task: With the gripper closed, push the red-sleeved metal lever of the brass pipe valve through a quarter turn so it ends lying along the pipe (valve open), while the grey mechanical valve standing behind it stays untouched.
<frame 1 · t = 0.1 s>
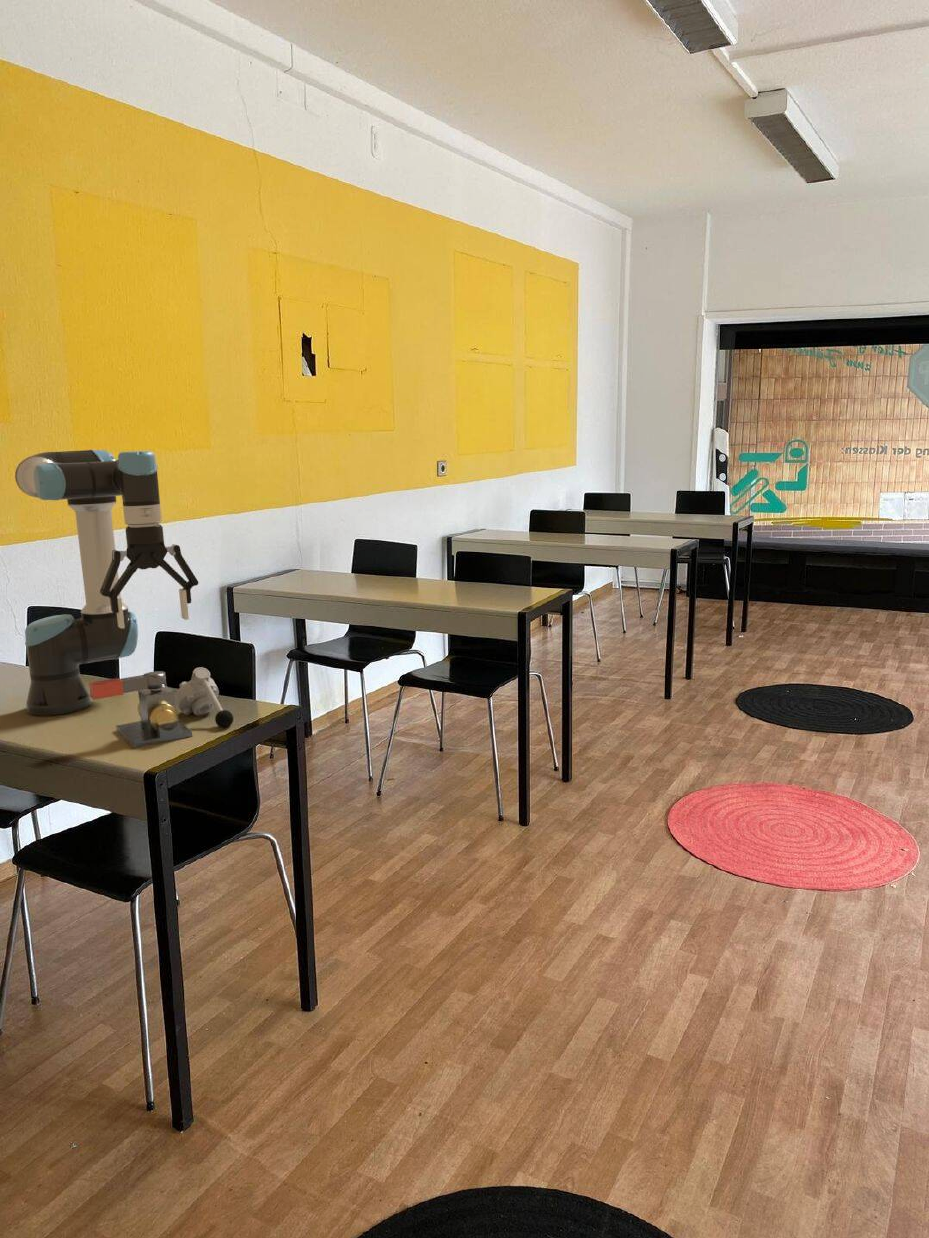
hand: (153, 623, 203), 28 cm above the table, fingers open, 13 cm apart
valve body: (160, 732, 218), on the table
lever: (129, 684, 213), point 12 cm above the table, hinge at 0.0°
mechanical valve: (210, 719, 228), on the table
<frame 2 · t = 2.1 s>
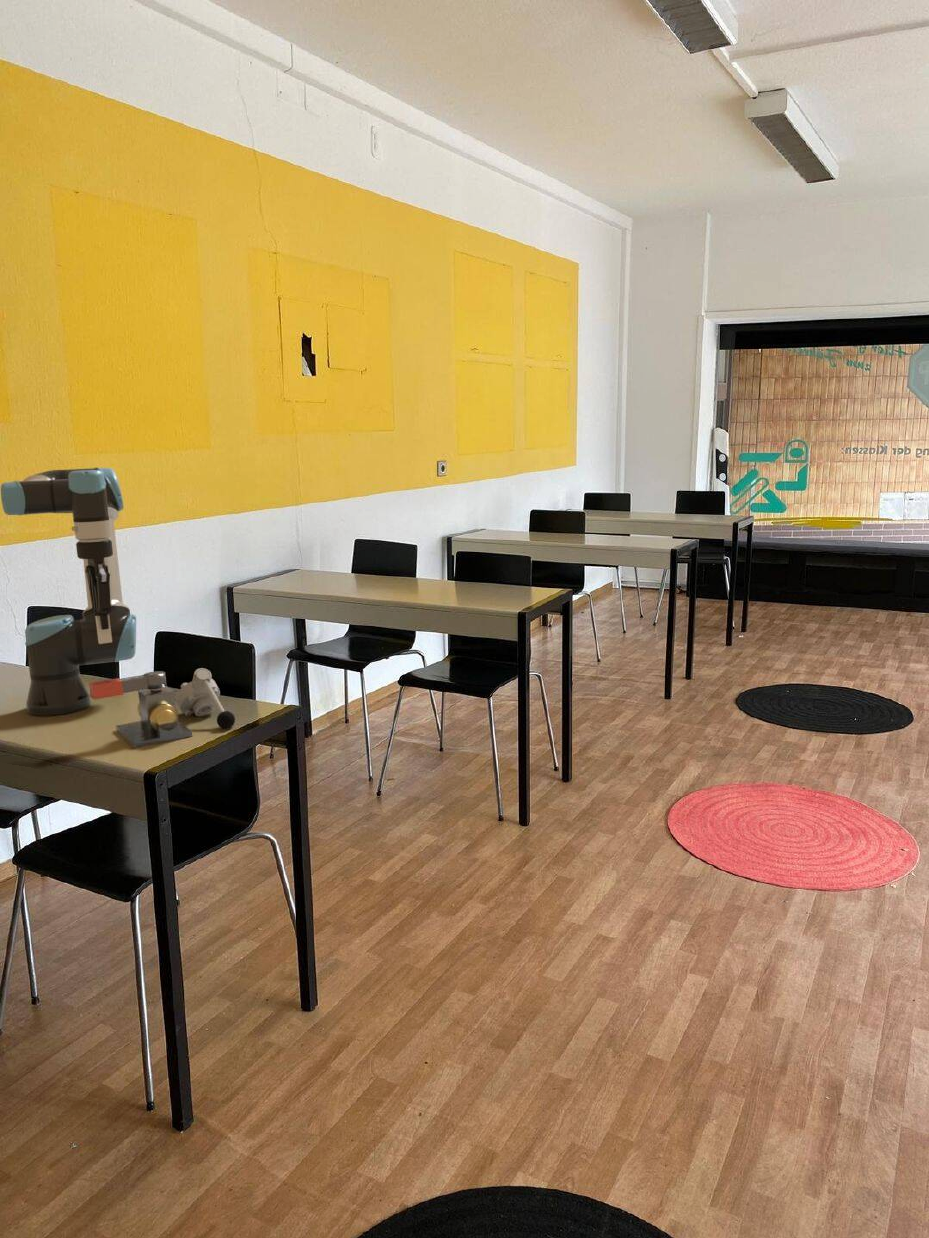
hand: (105, 642, 215), 22 cm above the table, fingers closed
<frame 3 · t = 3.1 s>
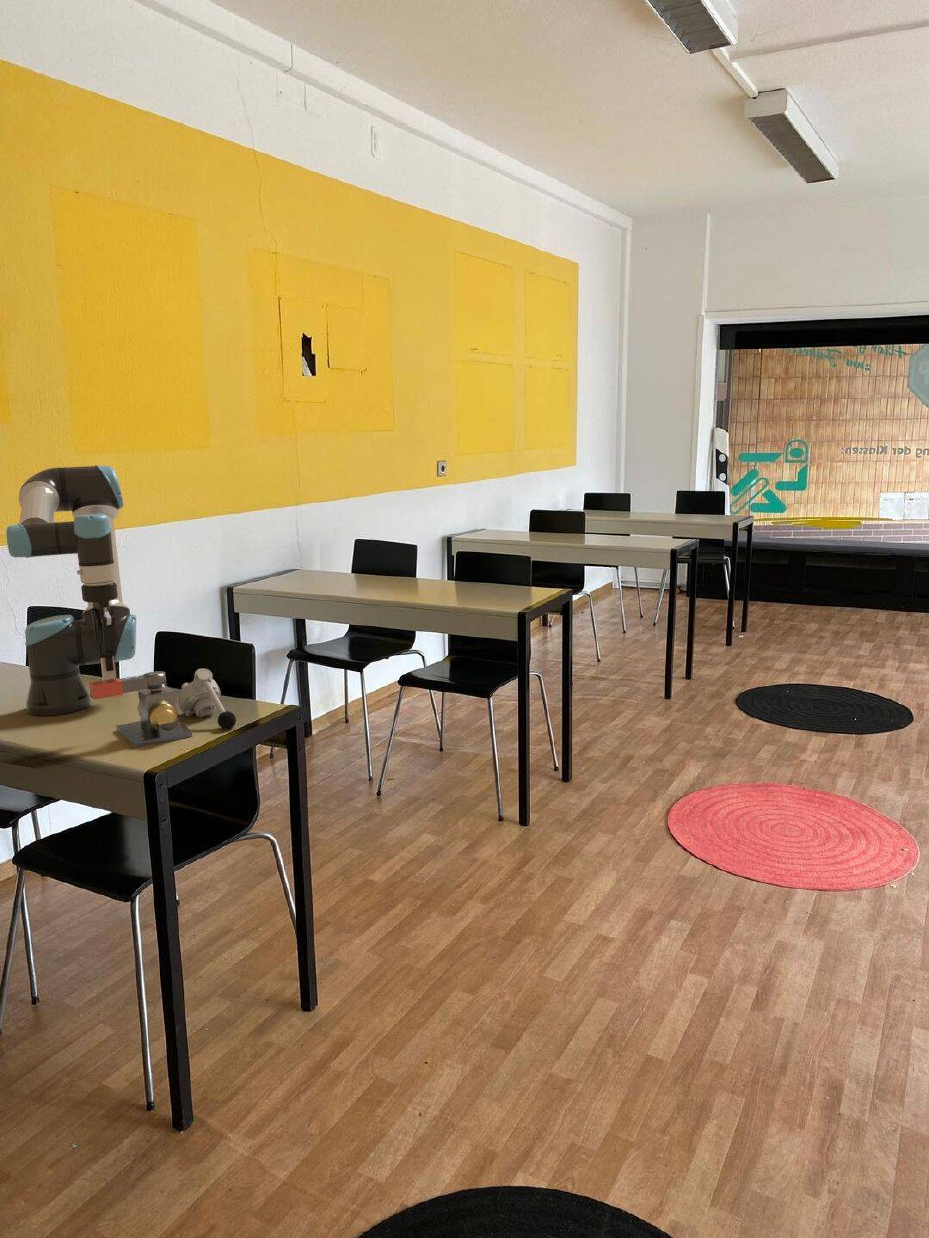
hand: (110, 683, 217), 12 cm above the table, fingers closed
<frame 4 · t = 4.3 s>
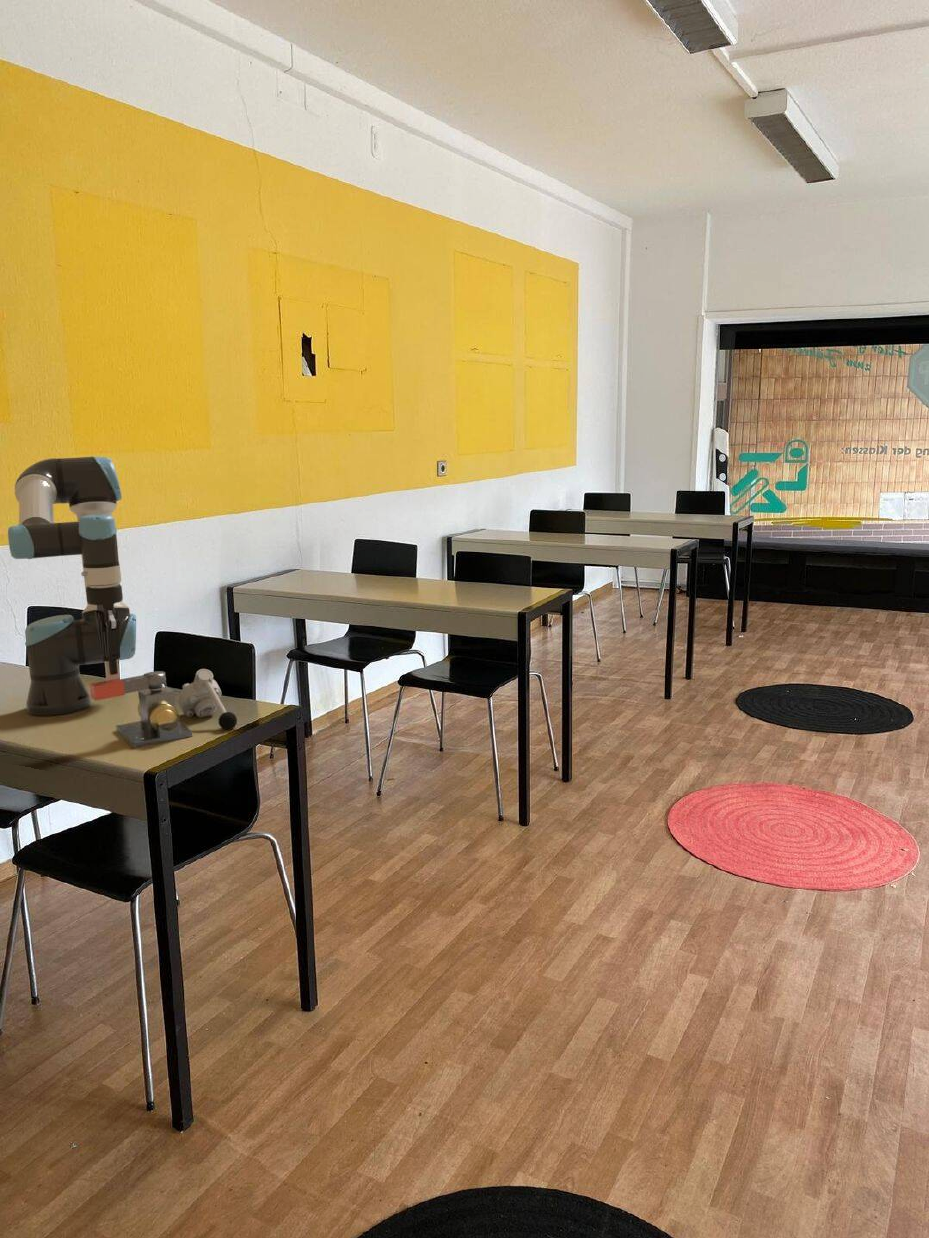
hand: (114, 687, 212), 12 cm above the table, fingers closed
lever: (129, 685, 212), point 12 cm above the table, hinge at 4.6°, touching gripper
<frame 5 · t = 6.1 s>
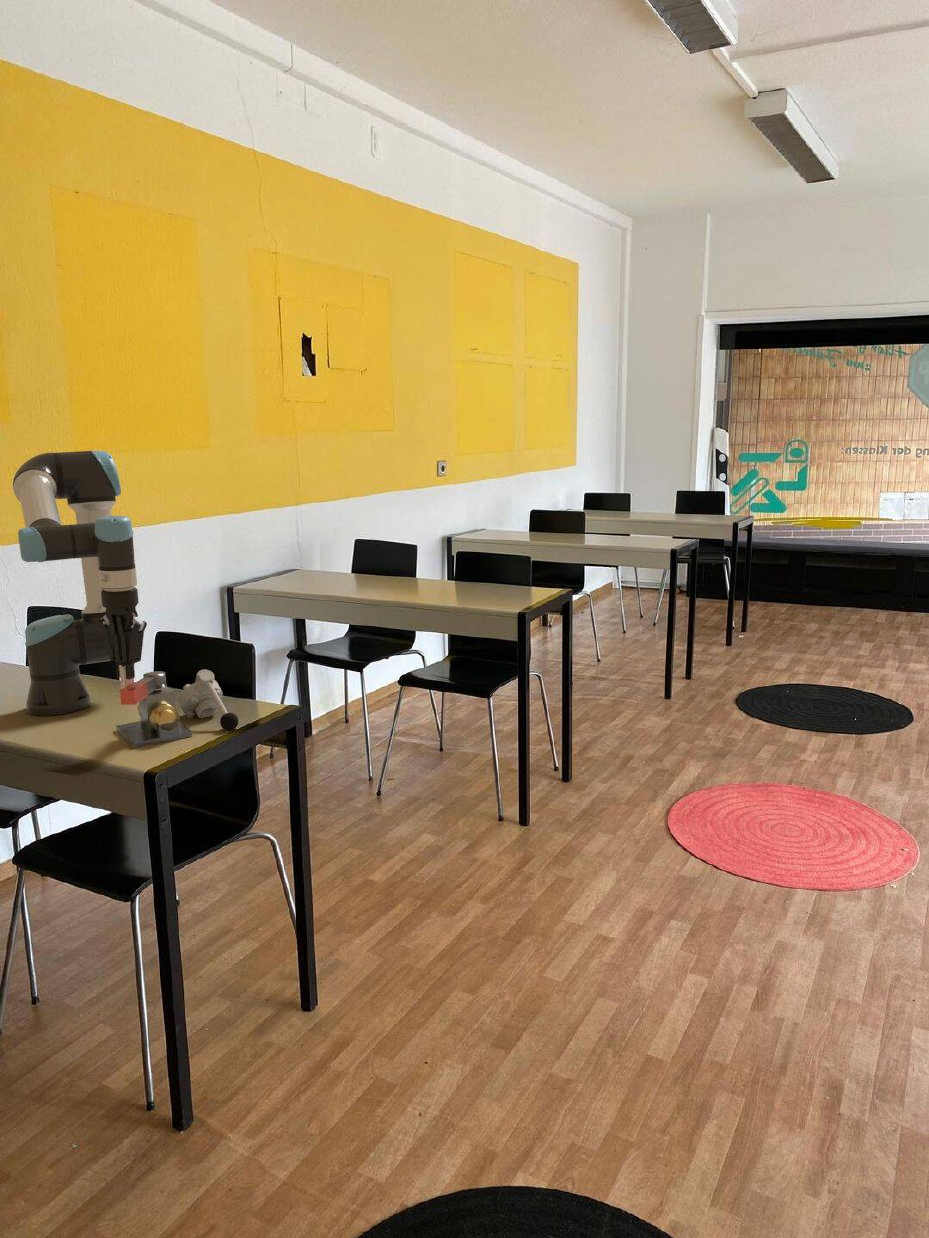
hand: (128, 692, 208), 12 cm above the table, fingers closed
lever: (144, 687, 210), point 12 cm above the table, hinge at 50.8°, touching gripper
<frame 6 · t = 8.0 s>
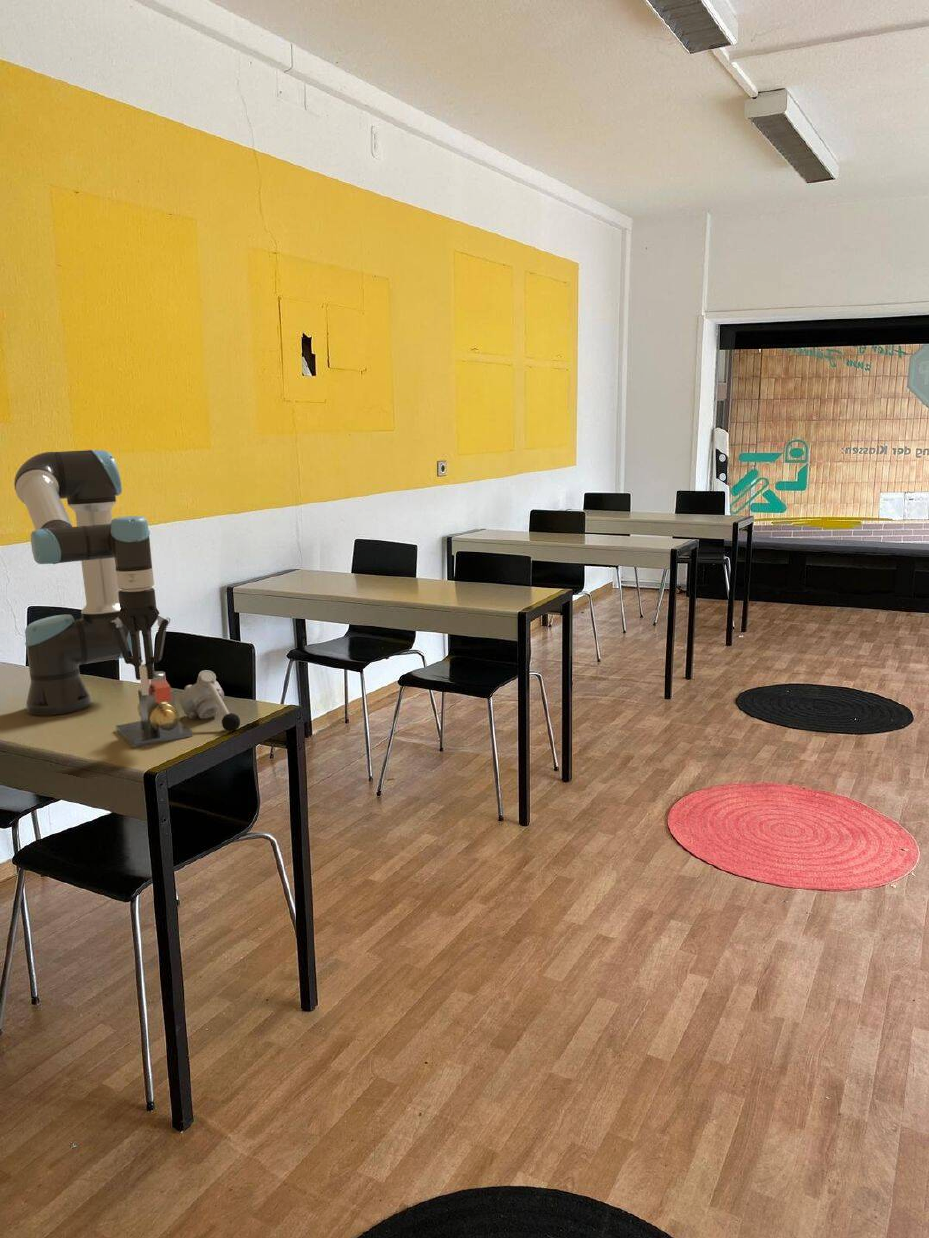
hand: (147, 693, 207), 12 cm above the table, fingers closed
lever: (158, 686, 211), point 12 cm above the table, hinge at 81.7°
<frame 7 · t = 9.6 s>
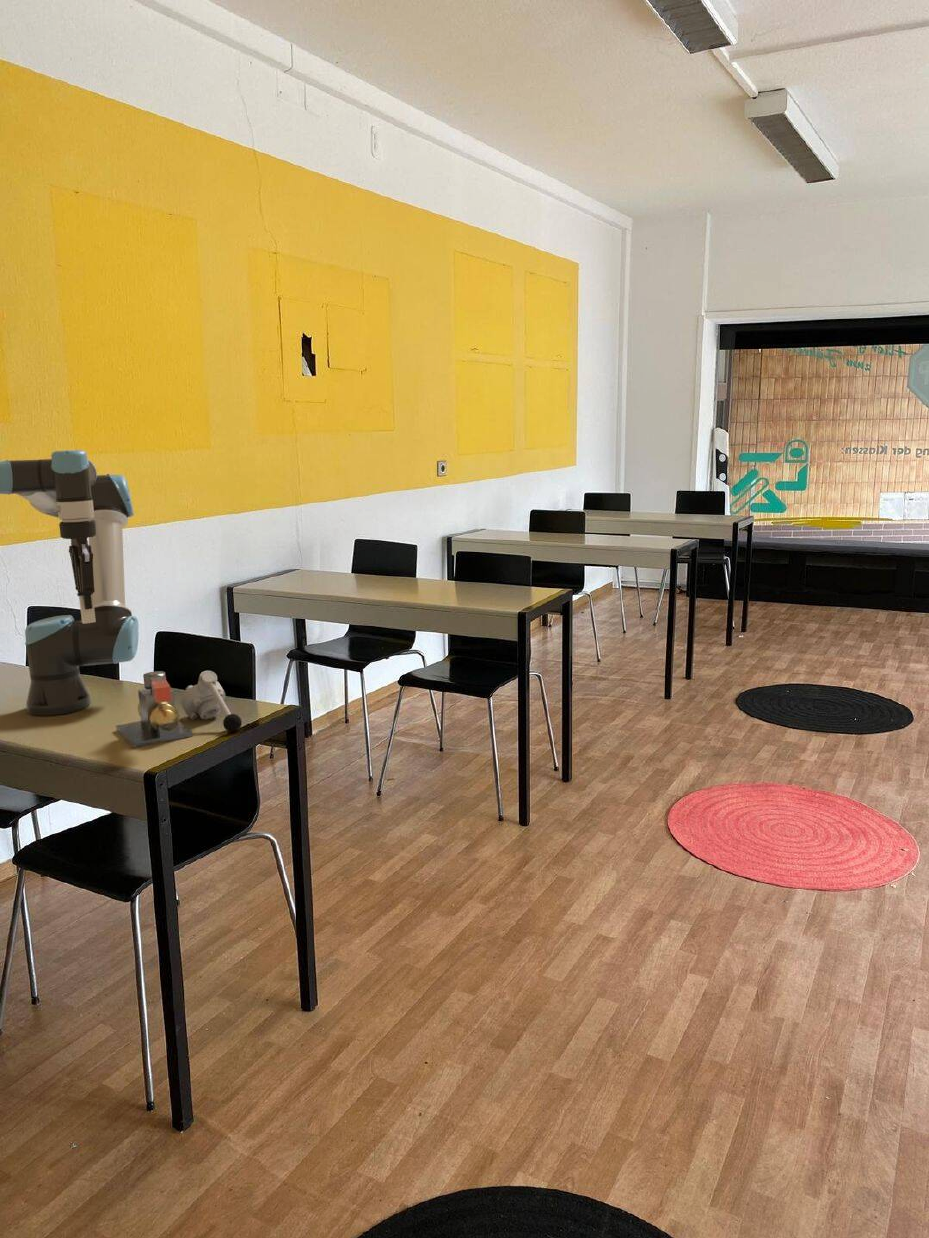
hand: (88, 622, 215), 26 cm above the table, fingers closed
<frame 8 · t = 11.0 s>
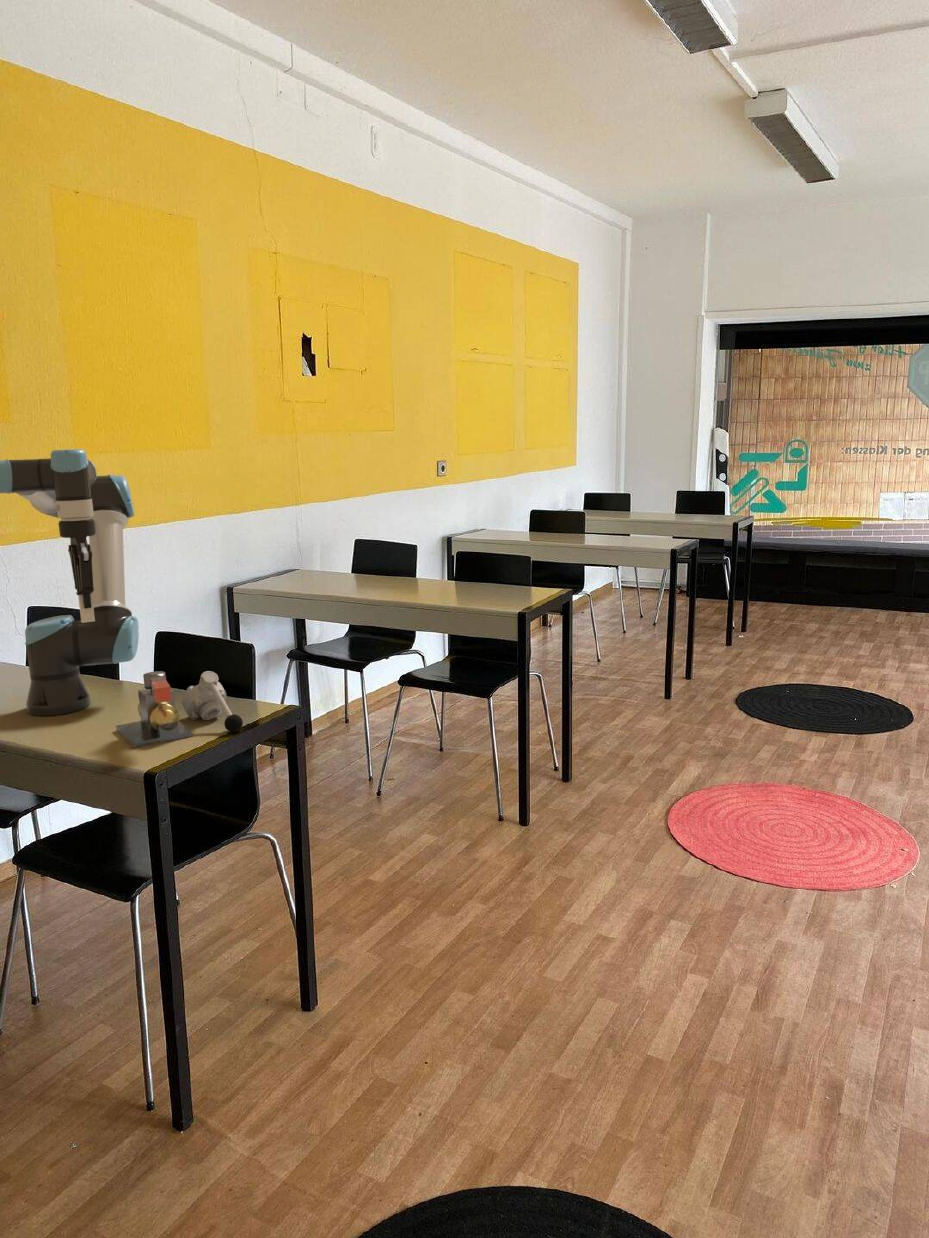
hand: (88, 621, 215), 26 cm above the table, fingers closed
at the end: lever at +82° (first picture: +0°) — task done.
